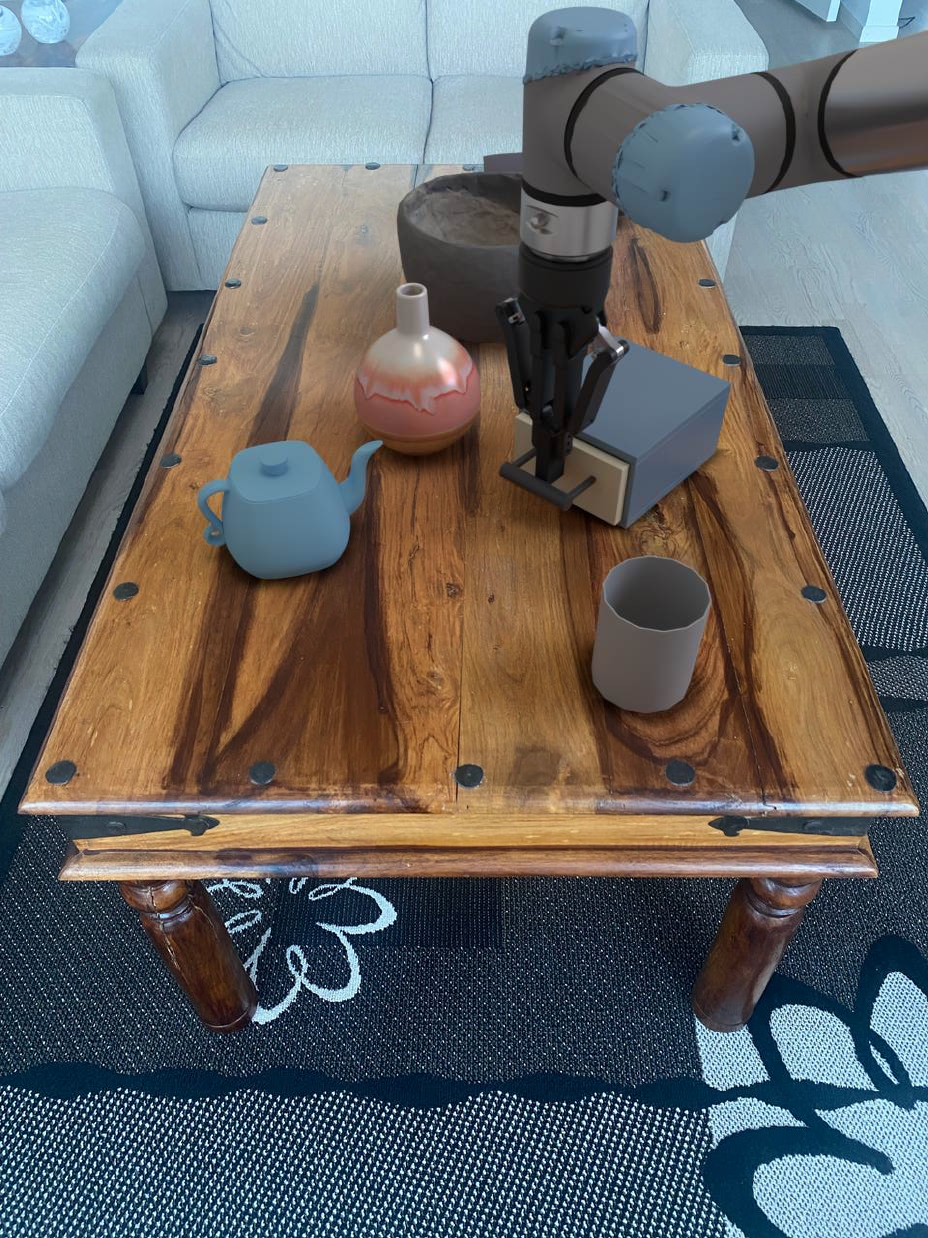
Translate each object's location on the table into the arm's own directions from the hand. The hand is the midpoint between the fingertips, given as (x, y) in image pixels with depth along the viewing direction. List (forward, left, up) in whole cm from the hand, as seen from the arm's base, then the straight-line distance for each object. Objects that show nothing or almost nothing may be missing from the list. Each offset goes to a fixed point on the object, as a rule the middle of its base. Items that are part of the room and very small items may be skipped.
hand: (549, 477), depth 90 cm
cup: (-19, +11, -5) cm, 23 cm away
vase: (+19, -1, -5) cm, 20 cm away
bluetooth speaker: (+42, -55, -5) cm, 69 cm away
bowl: (+30, -26, -5) cm, 40 cm away
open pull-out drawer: (0, -7, -4) cm, 8 cm away
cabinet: (0, -12, -5) cm, 13 cm away
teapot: (+16, +19, -5) cm, 25 cm away
